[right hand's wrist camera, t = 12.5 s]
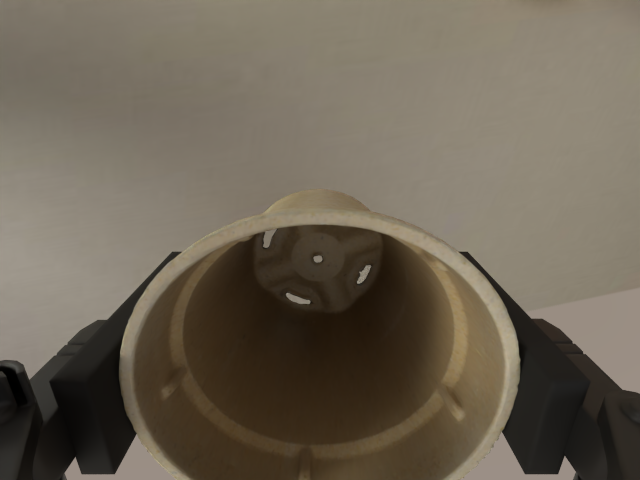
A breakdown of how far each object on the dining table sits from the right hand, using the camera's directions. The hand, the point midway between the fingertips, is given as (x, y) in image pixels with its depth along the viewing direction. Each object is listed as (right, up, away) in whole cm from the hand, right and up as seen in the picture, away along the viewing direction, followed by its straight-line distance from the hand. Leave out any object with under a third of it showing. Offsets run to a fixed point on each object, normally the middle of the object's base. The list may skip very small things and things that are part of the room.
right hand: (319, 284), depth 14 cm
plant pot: (0, +1, +3) cm, 3 cm away
